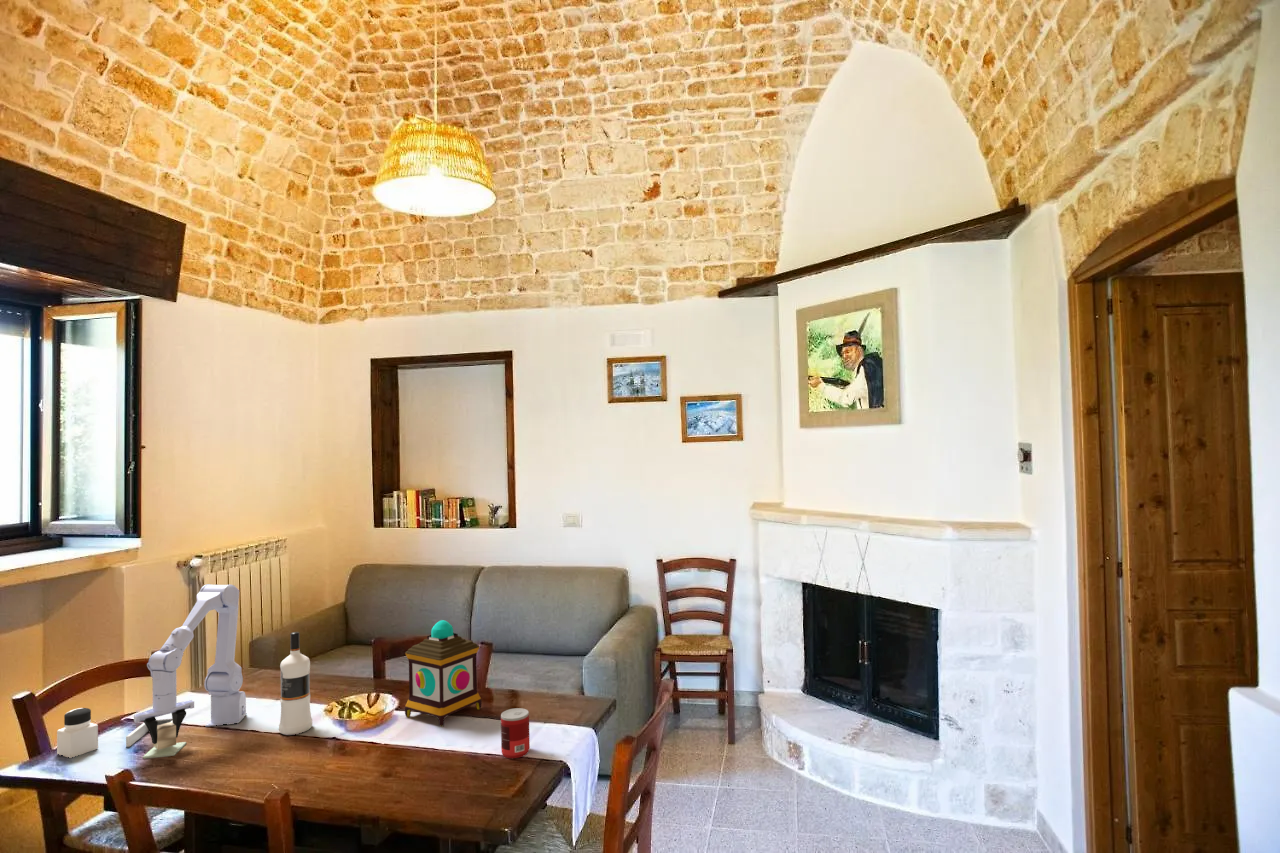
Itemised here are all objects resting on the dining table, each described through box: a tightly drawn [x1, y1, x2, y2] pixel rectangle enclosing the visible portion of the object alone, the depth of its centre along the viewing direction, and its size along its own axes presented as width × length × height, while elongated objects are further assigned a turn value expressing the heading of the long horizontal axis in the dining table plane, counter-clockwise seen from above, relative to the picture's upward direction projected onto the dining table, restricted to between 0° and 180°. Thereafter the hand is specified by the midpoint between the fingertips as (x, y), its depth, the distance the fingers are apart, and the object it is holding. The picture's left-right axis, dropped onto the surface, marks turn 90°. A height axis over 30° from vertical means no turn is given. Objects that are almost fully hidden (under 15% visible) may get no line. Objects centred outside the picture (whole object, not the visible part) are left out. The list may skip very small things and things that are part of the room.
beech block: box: [152, 722, 177, 750], centre depth 203 cm, size 4×4×6 cm
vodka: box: [278, 631, 313, 736], centre depth 216 cm, size 9×9×30 cm
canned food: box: [500, 707, 531, 759], centre depth 196 cm, size 8×8×11 cm
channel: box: [125, 718, 173, 748], centre depth 213 cm, size 9×12×3 cm
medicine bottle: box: [56, 707, 99, 759], centre depth 204 cm, size 7×7×12 cm
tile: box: [142, 741, 187, 760], centre depth 202 cm, size 8×8×1 cm
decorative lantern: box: [404, 619, 482, 727], centre depth 227 cm, size 20×20×30 cm
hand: (164, 739), depth 203 cm, fingers closed on beech block, 4 cm apart
